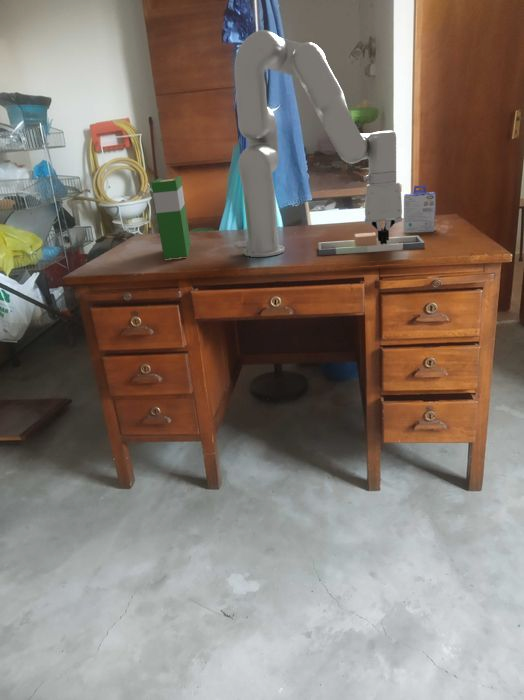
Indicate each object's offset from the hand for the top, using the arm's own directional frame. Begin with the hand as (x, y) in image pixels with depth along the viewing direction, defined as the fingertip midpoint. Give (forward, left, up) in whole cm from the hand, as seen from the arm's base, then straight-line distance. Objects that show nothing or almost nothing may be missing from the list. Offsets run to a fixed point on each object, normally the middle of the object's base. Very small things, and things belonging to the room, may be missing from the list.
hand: (383, 243), depth 153 cm
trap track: (-4, 0, -2) cm, 4 cm away
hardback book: (-66, +13, -2) cm, 67 cm away
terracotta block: (-5, 0, -1) cm, 5 cm away
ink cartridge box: (+14, +21, -2) cm, 25 cm away
